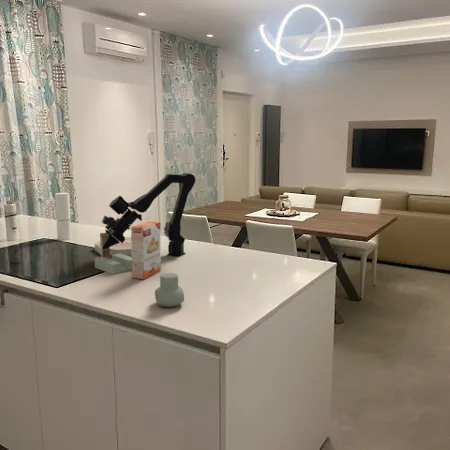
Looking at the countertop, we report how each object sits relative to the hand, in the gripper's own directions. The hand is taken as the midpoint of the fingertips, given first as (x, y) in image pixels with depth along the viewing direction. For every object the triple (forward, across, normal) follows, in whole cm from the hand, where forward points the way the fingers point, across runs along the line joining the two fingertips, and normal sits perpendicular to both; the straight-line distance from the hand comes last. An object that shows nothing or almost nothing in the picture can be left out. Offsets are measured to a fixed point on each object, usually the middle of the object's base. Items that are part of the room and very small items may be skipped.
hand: (101, 247), depth 202 cm
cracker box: (-5, +27, +14) cm, 31 cm away
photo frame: (+4, 0, +6) cm, 7 cm away
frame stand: (+2, +13, +8) cm, 15 cm away
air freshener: (-4, +63, +13) cm, 65 cm away
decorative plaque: (-6, -20, +16) cm, 26 cm away
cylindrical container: (+13, -57, -3) cm, 58 cm away
